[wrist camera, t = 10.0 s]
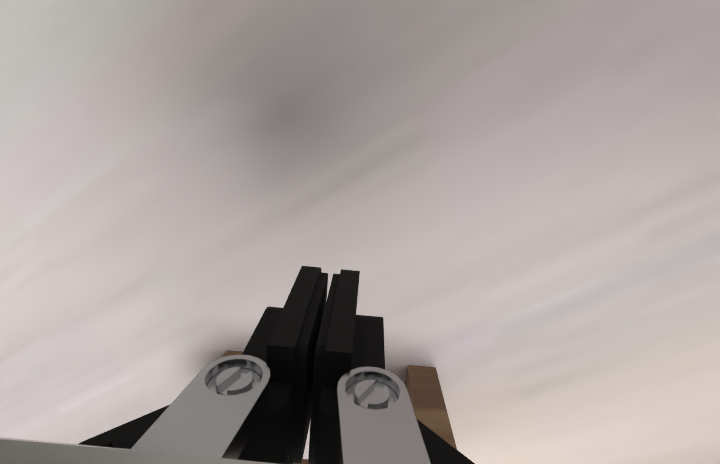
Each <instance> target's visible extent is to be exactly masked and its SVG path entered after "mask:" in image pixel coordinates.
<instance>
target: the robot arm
mask: <svg viewBox="0 0 720 464" xmlns="http://www.w3.org/2000/svg"><path fill="white" fill-rule="evenodd" d="M359 274H360V271H352V270H341V273H340V274H333V278H332V282H331V286H330V290H329V294H328V298H327V283H328V273H321V268H319V267H308V266H302V267H301V269H300V272H299V274H298V276H297V278H296V281H295V283H294V285H293V287H292V290H291V292H290V294H289V296H288V299H287V301H286V303H285V305H284V308H277V307H267V308H266V310H265V312H264V314H263V315H262V317H261V319H260V321H259V323H258V325H257V327H256V329H255V331H254V333H253V335H252V336H251V338H250V340H249V342H248V344H247V346H246V348H245V350H244V352H243V354H242V355H229V356H226V357H222V358H219V359H217V360H215V361H213V362H211V363H209V364H208V365H207V366H205V367H204V368H203V369H202V370H201V371H200V372H199V373H198V374H197V376H196V377H195V378H194V379H193V380H192V381H191V382H190V383H189V384H188V386H187V387H186V388H185V389H184V390H183V391H182V392H181V393H180V395H179V396H178V397H177V398H176V399H175V400H174V401H173V402H172V403H171V404H170V405H168V406H166V407H163V408H161V409H159V410H156V411H154V412H151V413H149V414H147V415H144V416H142V417H140V418H137V419H135V420H133V421H130V422H128V423H126V424H123V425H121V426H118V427H116V428H114V429H111V430H109V431H107V432H104V433H102V434H100V435H97V436H95V437H93V438H90V439H88V440H85V441H83V442H81V443H79V444H67V443H56V442H45V441H34V440H23V439H12V438H1V437H0V464H293V463H301V462H302V458H303V454H304V449H305V444H306V439H307V434H308V429H309V424H310V419H311V424H310V442H309V460H308V464H474V463H473V462H472V461H471V460H469V459H468V458H467V457H465V456H464V455H463V454H462V453H460V452H459V451H458V450H456V449H455V448H454V447H453V446H451V445H450V444H449V443H447V442H446V441H445V440H444V439H442V438H441V437H440V436H438V435H437V434H436V433H435V432H433V431H432V430H431V429H429V428H428V427H427V426H426V425H424V424H423V423H422V422H420V421H419V420H418V419H417V418H416V416H415V413H414V410H413V407H412V404H411V400H410V397H409V394H408V391H407V388H406V386H405V385H404V383H403V381H402V380H401V379H400V378H399V377H398V376H396V375H395V374H393V373H391V372H389V371H388V370H385V356H384V327H383V317H374V316H363V315H356V307H357V296H358V285H359ZM326 299H327V302H326Z"/></svg>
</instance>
